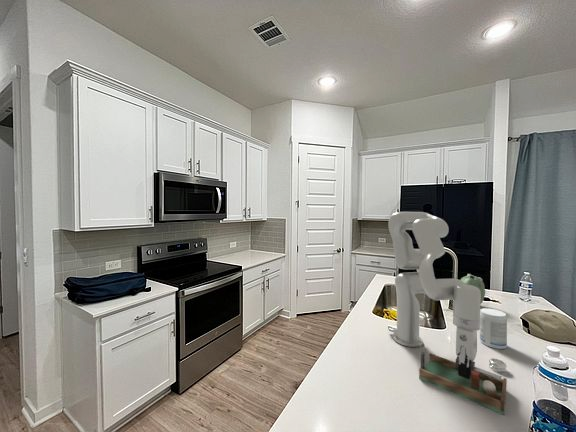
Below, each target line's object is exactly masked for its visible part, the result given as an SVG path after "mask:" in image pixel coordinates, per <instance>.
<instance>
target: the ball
mask: <svg viewBox="0 0 576 432" xmlns="http://www.w3.org/2000/svg"><path fill="white" fill-rule="evenodd" d="M482 387H483V389H484V390H485V391H486V389H488V390H490V391H493V392H496V387H495V385H494V384H493V383H492V382H490V381H488V380H485V381H483V382H482Z"/></svg>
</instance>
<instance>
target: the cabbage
mask: <svg viewBox="0 0 576 432" xmlns="http://www.w3.org/2000/svg"><path fill="white" fill-rule="evenodd" d="M459 280H460V281H462V282H464V283H466V284H467V285H472V286H475V287H477V288H479V290H480V292H481V303H480V305H482V303H483V302H484V299H485V297H486V288H485V287H486V286H485V283H484V281H483V278H482V277H479V276H475V275H472V274H471V273H467V275H465V276H463V277H460V279H459Z"/></svg>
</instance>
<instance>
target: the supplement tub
mask: <svg viewBox="0 0 576 432" xmlns="http://www.w3.org/2000/svg"><path fill="white" fill-rule="evenodd" d="M479 340H480V342H481V343H482V344H483V345H485V346H487V347H489V348H493V349H496V350H497V349H498V350H503V349H506V348H507V347H508V318H507V314H506V313H505V312H504V311H501V310H497V309H494V308H484V307H483V308H480V330H479Z"/></svg>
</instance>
